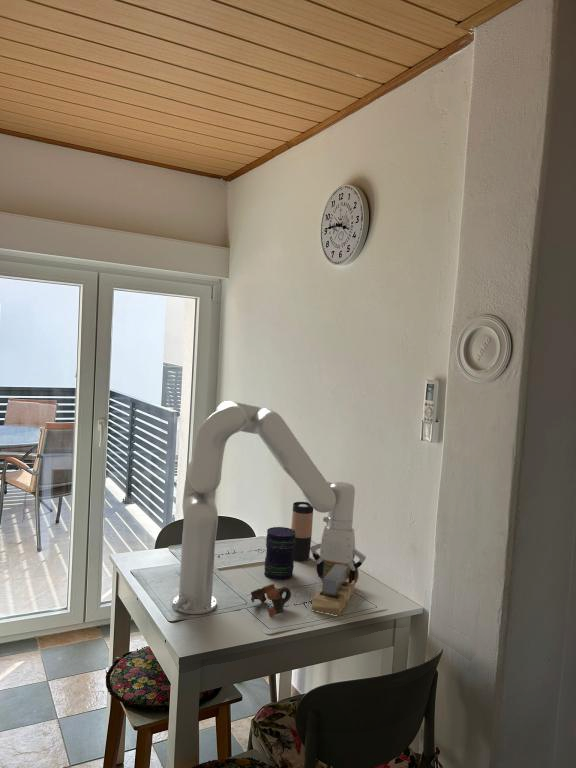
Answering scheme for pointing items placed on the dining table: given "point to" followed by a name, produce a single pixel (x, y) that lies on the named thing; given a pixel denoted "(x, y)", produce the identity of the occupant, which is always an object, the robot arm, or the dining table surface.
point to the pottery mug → (272, 597)
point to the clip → (334, 580)
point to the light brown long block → (333, 599)
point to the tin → (329, 565)
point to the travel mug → (302, 530)
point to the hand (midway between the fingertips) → (335, 578)
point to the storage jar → (279, 553)
